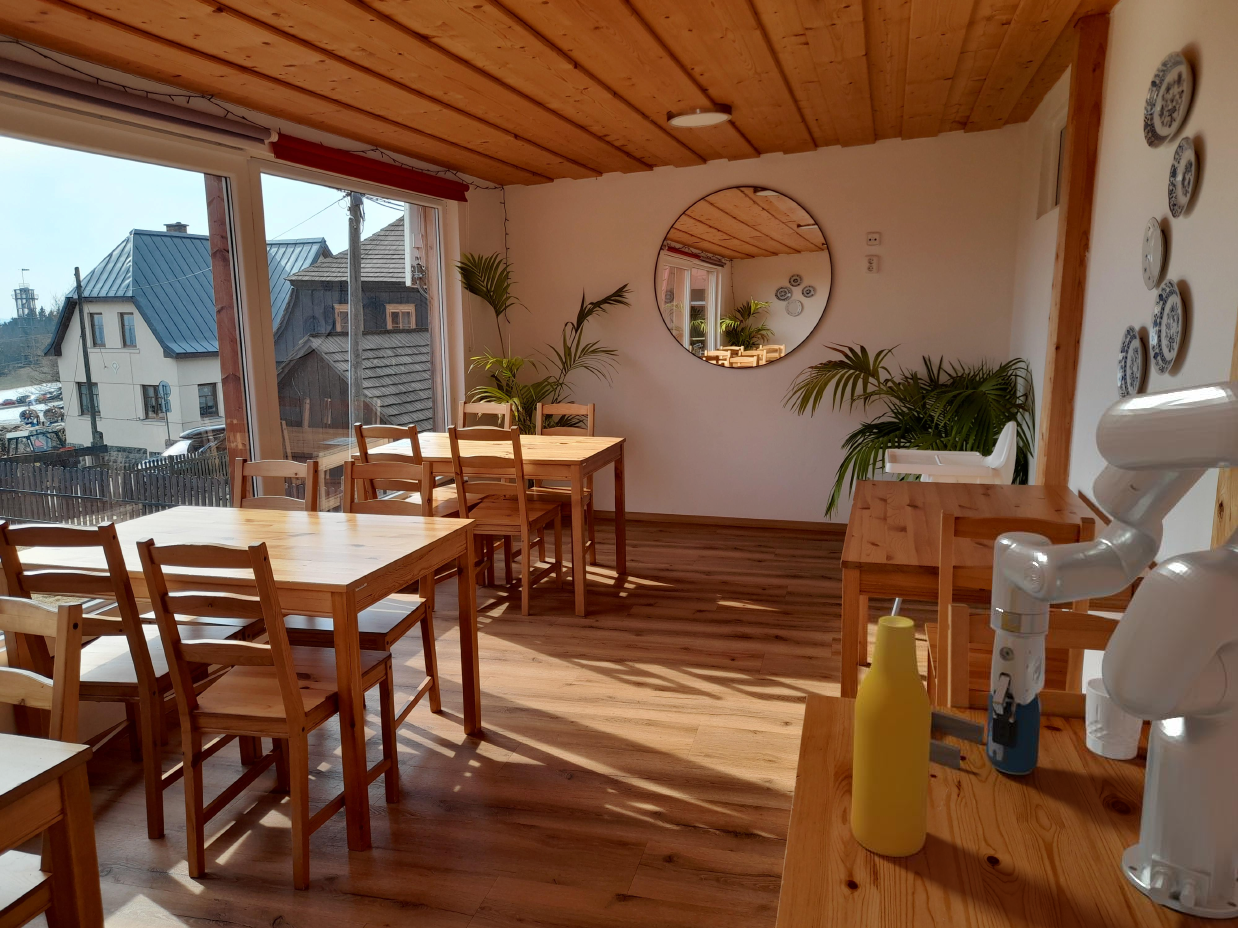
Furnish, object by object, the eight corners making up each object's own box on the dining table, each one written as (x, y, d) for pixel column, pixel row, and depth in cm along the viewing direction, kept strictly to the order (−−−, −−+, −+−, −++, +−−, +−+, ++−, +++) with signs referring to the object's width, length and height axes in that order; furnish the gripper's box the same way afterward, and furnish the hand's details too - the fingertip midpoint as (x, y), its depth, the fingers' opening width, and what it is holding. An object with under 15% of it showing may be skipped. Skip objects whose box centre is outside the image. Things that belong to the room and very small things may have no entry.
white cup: (1090, 759, 127) (1095, 696, 125) (1075, 734, 134) (1080, 675, 132) (1148, 764, 125) (1154, 701, 123) (1130, 739, 132) (1135, 679, 131)
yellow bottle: (913, 868, 101) (924, 640, 97) (839, 842, 107) (846, 624, 102) (934, 830, 109) (945, 617, 104) (864, 808, 114) (871, 604, 110)
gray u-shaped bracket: (957, 769, 124) (958, 750, 123) (898, 749, 130) (899, 731, 129) (983, 742, 132) (984, 724, 132) (927, 724, 138) (927, 707, 137)
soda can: (1041, 761, 124) (1046, 685, 123) (1031, 781, 119) (1036, 701, 117) (991, 749, 129) (995, 674, 127) (980, 767, 123) (984, 690, 121)
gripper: (1028, 641, 112) (1021, 766, 114) (1064, 609, 124) (1057, 722, 127) (970, 629, 117) (965, 748, 119) (1011, 599, 129) (1005, 708, 132)
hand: (1012, 734), depth 123 cm, fingers closed on soda can, 7 cm apart
